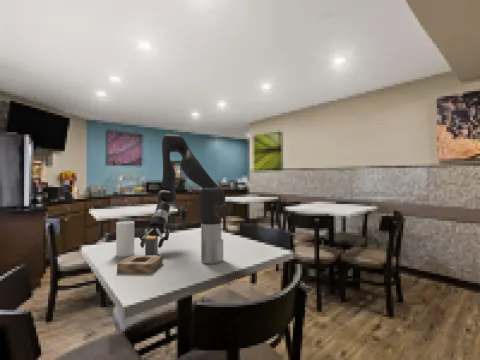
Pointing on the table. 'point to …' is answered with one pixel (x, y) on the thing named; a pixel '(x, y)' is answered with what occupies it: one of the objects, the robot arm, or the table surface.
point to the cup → (125, 238)
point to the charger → (151, 245)
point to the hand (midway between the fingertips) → (150, 247)
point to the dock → (140, 264)
